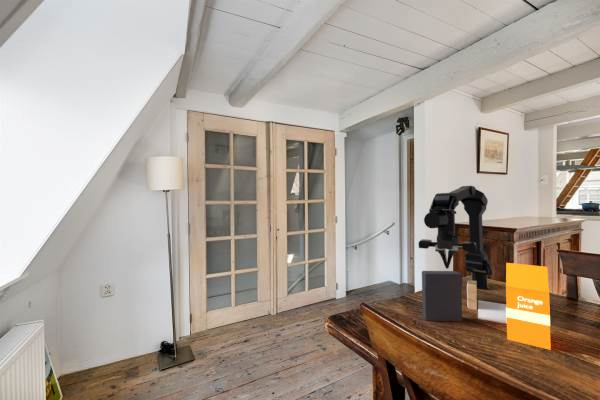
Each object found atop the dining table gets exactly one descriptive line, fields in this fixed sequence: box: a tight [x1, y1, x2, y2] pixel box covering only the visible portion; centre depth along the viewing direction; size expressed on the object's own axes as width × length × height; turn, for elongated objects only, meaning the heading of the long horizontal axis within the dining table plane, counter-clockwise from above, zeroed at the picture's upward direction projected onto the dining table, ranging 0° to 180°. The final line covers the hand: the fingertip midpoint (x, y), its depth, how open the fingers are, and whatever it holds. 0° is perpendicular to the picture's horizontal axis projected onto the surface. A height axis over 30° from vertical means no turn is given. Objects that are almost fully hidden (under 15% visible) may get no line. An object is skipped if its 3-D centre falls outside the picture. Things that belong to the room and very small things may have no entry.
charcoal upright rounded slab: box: [421, 270, 463, 322], centre depth 88 cm, size 11×4×15 cm, turn 84°
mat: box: [477, 299, 507, 325], centre depth 90 cm, size 18×16×1 cm
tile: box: [466, 279, 478, 311], centre depth 98 cm, size 8×3×8 cm, turn 147°
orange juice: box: [505, 262, 552, 351], centre depth 74 cm, size 8×9×20 cm
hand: (447, 268), depth 103 cm, fingers closed
